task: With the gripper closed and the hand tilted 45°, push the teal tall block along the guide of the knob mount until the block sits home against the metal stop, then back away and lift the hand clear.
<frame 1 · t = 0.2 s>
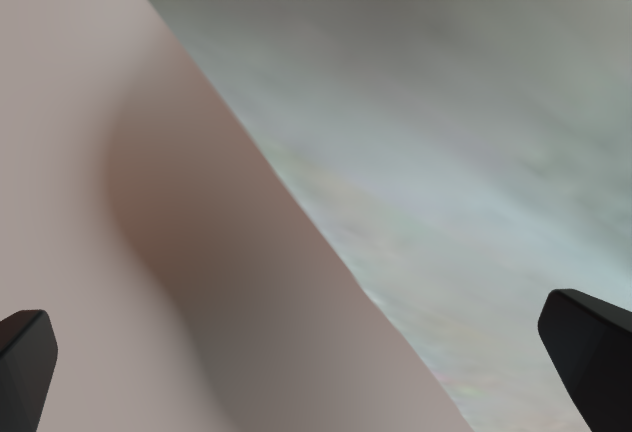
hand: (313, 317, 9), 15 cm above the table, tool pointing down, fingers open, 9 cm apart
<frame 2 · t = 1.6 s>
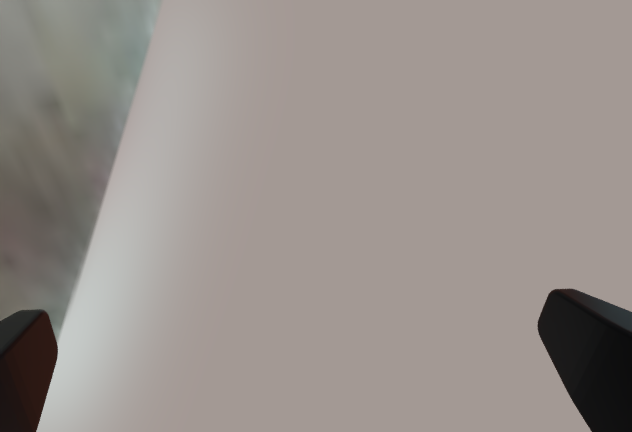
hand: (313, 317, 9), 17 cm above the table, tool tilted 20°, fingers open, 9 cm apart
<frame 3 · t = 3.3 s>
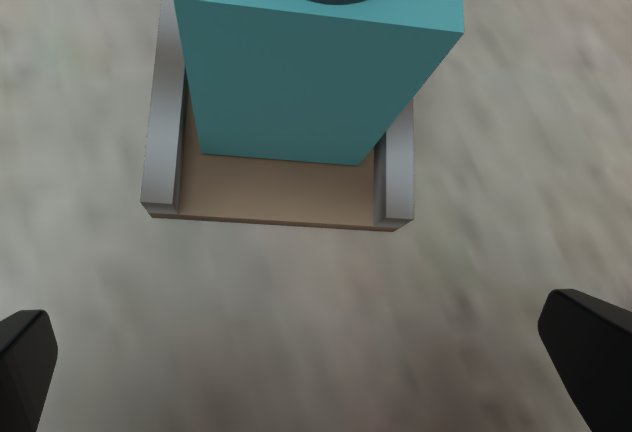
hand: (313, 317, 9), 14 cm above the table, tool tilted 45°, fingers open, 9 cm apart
teal tall block: (302, 30, 17), point 8 cm above the table, slide at -3.0 cm
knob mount: (286, 10, 26), on the table
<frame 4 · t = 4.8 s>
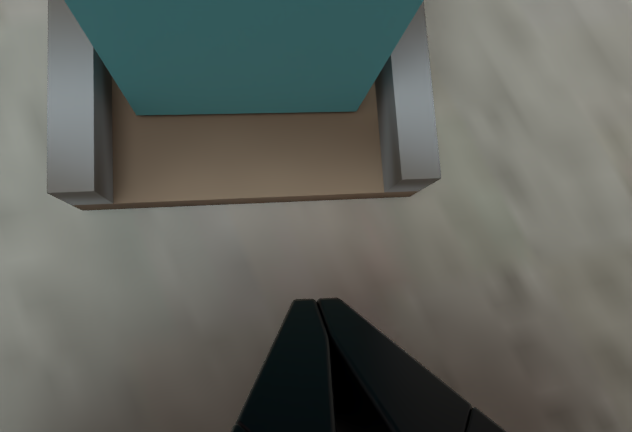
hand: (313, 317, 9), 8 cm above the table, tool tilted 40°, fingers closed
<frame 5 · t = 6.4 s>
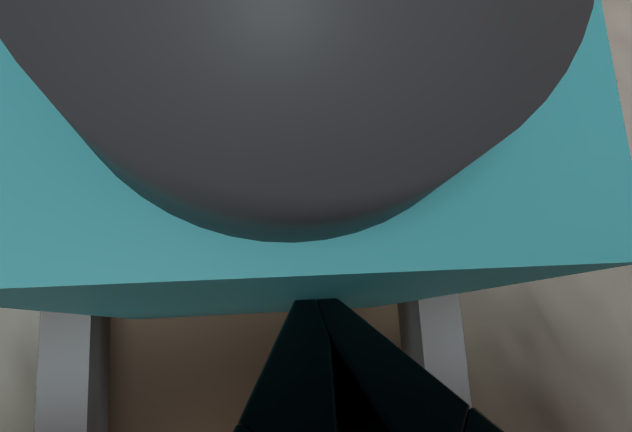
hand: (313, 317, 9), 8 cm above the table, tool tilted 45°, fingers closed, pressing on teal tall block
teal tall block: (265, 167, 10), point 8 cm above the table, slide at -1.5 cm, touching gripper
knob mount: (252, 114, 18), on the table
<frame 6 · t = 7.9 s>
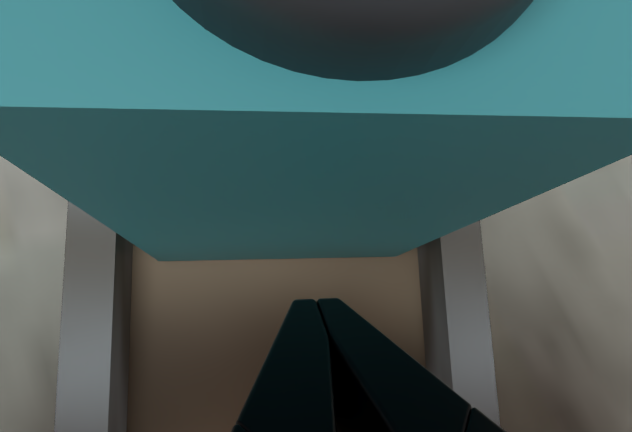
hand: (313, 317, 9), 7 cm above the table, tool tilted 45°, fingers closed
teal tall block: (299, 85, 10), point 8 cm above the table, slide at 0.0 cm
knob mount: (275, 109, 17), on the table
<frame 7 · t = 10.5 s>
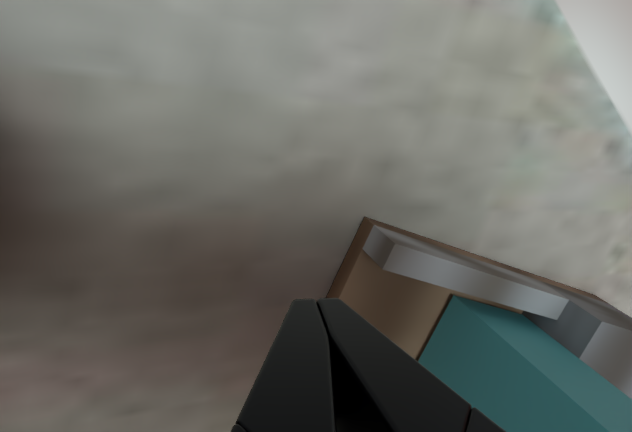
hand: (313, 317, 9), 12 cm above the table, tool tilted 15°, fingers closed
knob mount: (480, 355, 29), on the table
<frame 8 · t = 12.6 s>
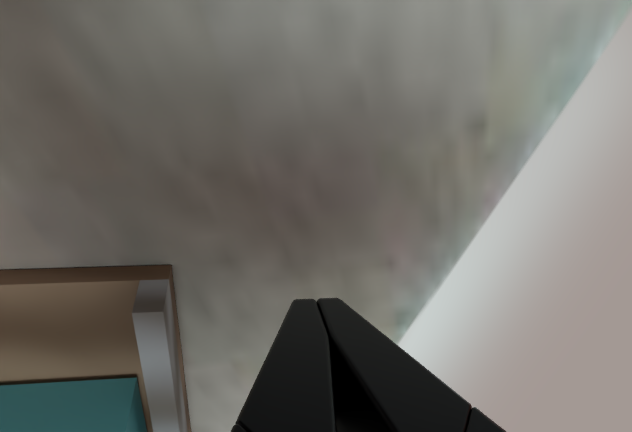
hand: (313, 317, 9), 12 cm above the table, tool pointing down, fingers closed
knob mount: (86, 427, 28), on the table
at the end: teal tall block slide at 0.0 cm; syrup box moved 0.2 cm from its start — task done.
